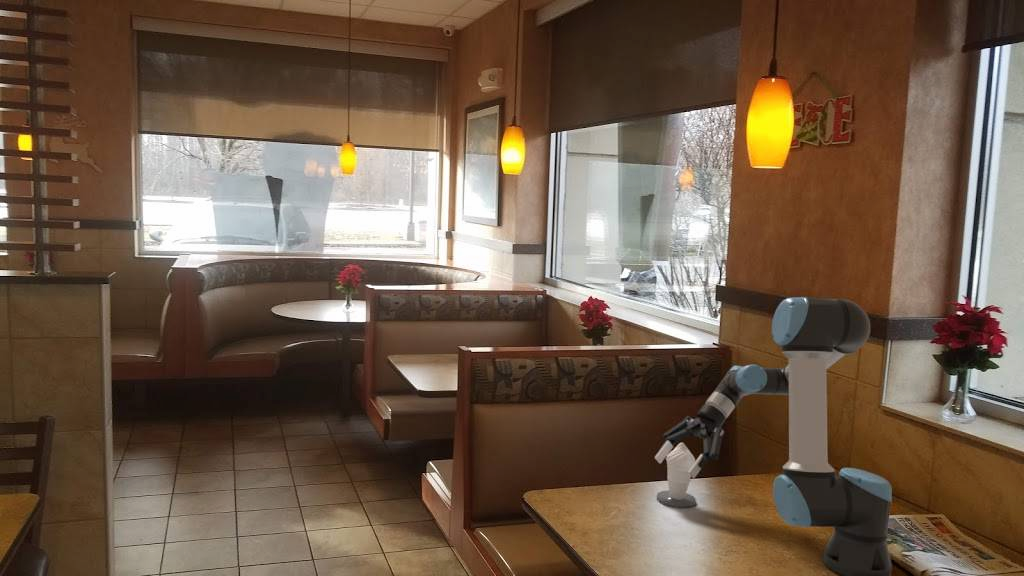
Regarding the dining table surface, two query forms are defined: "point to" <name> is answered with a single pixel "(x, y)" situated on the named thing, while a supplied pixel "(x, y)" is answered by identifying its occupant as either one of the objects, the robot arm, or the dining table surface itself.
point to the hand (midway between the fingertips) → (673, 467)
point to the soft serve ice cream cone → (679, 471)
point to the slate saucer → (684, 503)
